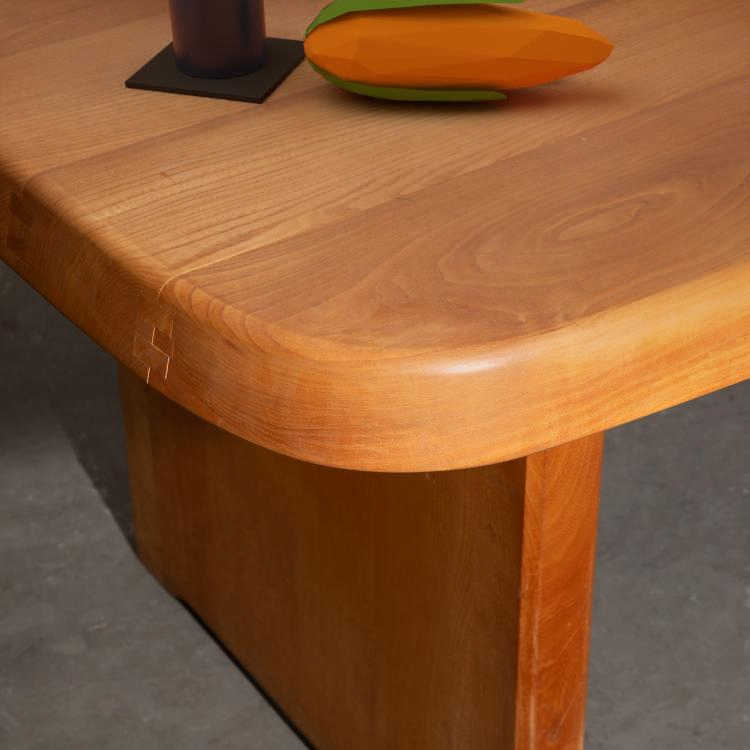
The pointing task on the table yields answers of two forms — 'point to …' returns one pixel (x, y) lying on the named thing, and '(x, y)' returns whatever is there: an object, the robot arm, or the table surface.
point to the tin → (218, 37)
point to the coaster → (242, 88)
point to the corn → (446, 48)
